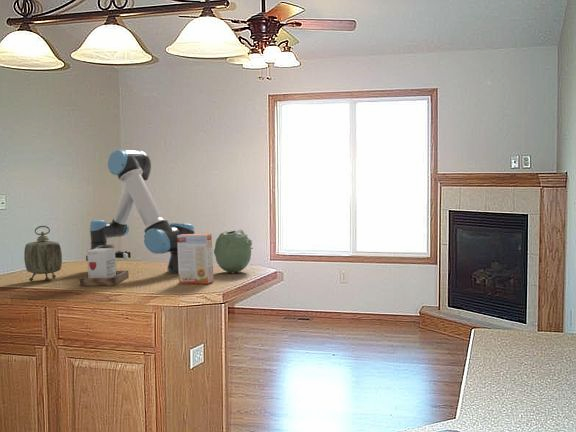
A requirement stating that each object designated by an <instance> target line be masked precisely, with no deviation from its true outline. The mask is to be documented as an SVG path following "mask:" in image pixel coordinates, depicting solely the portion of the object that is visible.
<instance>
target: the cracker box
mask: <svg viewBox="0 0 576 432" xmlns="http://www.w3.org/2000/svg"><path fill="white" fill-rule="evenodd" d="M177 248H178V272H179V273H178V284H192V285H193V284H195V285H208V284H211V283H214V280H215V279H214V261H213V260H214V258H213V253H214V252H213V234H212V233H194V234H181V235H177Z"/></svg>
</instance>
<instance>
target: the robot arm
mask: <svg viewBox="0 0 576 432" xmlns="http://www.w3.org/2000/svg"><path fill="white" fill-rule="evenodd" d="M107 160H108V161H107V168H108V172H110V173H111V174H112V175H113V176H114V175H115V176H117V178H118V180H119V182H120V183H124V184H125V188H124V190H123V193H122V195H121V198H120V200H119V202H118V204H117V205H118V206H117V207H116V210H115V213H114V216H113V218H112V221H111V222H106V220H105V219H95V220H91V221H90V222H89V231H90V234H89V236H90V248H89V250H93V249H97V248H106V245H108V244H107V243H108V242H107V239H111V238H121V237H124V236H127V235H128V234H129V232H130V226H129V221H130V218H131V216H132V213H133V211H134V208H135V207H136V209H137V212H138V214H139V215H140V218H141V219H142V220H141V221H142V222H143V223H144V226H145V228H144V230H143V232H144V237H143V238H144V239H143V242H144V243H143V244H144V245H145V248H146V249H147V250H148V251H149V252H151V253H153V254H157V255H158V254H162V255H163V254H166V253H170V257H169V259H168V264H167V268H166V270H167V273H169V274H179V272H178V248H177V235H181V234H196V233H195V227H194V224H192V223H180V222H179V223H178V222H177V223H175V222H174V223H173V222H171V223H170V222H169V221H168V219H165V218H163V217H162V214H161V212H160V210H159V208H158V206H157V204H156V201H155V199H154V197H153V195H152V194H151V192H150V190H149V188H148V186H147V184H146V181H148V179H149V177H150V175H151V171H152V163H151V162H152V161H151V159H150V157H149V155H148V153H146V152H144V151H143V150H140V149H115V150H113V151H112V152H111V153H110V154H109V156H108V159H107ZM131 255H132V254H131V252H130V251H128V250H125V251H120V250H117V251H115V259H124V260H126V261H129V259H130V258H131ZM85 261H86V262H88V258H87V255H85Z"/></svg>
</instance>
